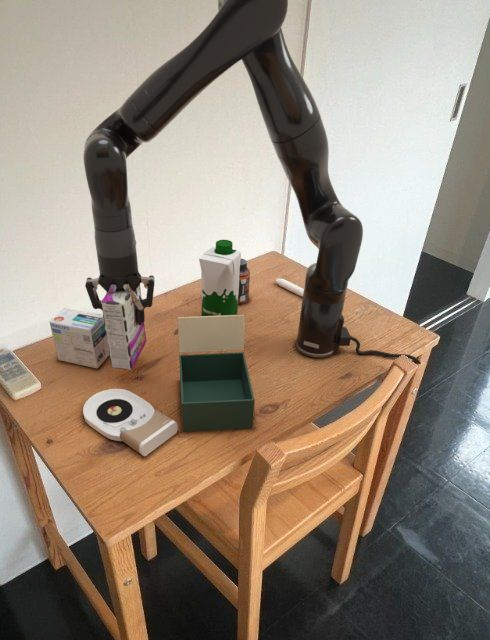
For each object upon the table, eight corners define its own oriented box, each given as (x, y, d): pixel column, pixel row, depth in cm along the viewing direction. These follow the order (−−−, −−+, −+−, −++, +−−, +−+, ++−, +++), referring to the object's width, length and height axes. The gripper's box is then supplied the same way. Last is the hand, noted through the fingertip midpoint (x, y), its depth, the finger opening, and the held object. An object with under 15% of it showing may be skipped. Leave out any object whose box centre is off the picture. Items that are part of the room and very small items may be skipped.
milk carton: (241, 315, 135) (245, 242, 122) (226, 332, 129) (229, 257, 116) (211, 308, 138) (212, 235, 125) (195, 324, 132) (194, 250, 119)
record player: (136, 449, 94) (70, 402, 104) (138, 461, 96) (72, 414, 106) (181, 417, 100) (114, 376, 111) (182, 429, 102) (116, 387, 113)
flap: (177, 317, 104) (177, 317, 105) (179, 352, 108) (179, 351, 109) (244, 315, 105) (244, 314, 105) (243, 349, 109) (243, 349, 109)
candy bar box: (126, 339, 119) (118, 274, 108) (146, 342, 118) (140, 276, 107) (109, 368, 110) (99, 300, 100) (132, 371, 110) (124, 303, 99)
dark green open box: (182, 432, 102) (181, 403, 97) (180, 382, 114) (179, 354, 109) (252, 428, 102) (254, 400, 98) (242, 379, 114) (243, 352, 110)
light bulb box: (111, 353, 122) (105, 314, 115) (98, 369, 117) (91, 329, 110) (71, 345, 125) (63, 306, 118) (57, 360, 120) (47, 321, 113)
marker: (272, 283, 148) (273, 276, 146) (277, 281, 149) (278, 274, 148) (321, 308, 138) (322, 300, 136) (326, 305, 139) (327, 298, 137)
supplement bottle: (248, 305, 139) (251, 266, 131) (226, 305, 139) (228, 266, 132) (247, 294, 143) (250, 256, 136) (226, 294, 143) (227, 256, 136)
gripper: (75, 257, 95) (89, 335, 106) (154, 255, 95) (159, 332, 106) (80, 240, 100) (92, 315, 111) (154, 238, 101) (159, 313, 112)
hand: (125, 323), depth 109 cm, fingers closed on candy bar box, 5 cm apart
